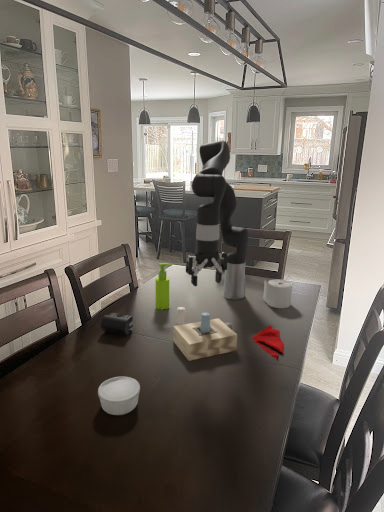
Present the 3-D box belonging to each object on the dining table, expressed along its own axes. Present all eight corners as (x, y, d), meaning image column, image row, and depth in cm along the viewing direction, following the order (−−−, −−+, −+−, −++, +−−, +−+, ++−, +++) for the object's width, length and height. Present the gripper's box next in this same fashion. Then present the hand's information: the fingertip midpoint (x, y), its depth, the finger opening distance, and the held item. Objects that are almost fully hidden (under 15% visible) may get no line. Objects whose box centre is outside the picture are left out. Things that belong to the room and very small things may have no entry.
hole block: (217, 332, 144) (218, 317, 143) (236, 350, 132) (237, 334, 130) (173, 341, 137) (173, 325, 135) (188, 360, 125) (189, 343, 123)
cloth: (256, 324, 153) (257, 319, 153) (291, 329, 149) (292, 324, 149) (245, 356, 129) (245, 350, 129) (286, 364, 125) (287, 358, 125)
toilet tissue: (291, 309, 166) (293, 288, 164) (263, 307, 168) (265, 286, 165) (289, 300, 177) (291, 280, 174) (263, 298, 178) (264, 278, 176)
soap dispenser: (171, 310, 163) (171, 265, 158) (155, 309, 163) (154, 265, 158) (172, 304, 169) (172, 261, 164) (156, 304, 169) (156, 261, 164)
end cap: (101, 334, 141) (100, 318, 139) (110, 326, 148) (110, 310, 146) (125, 339, 138) (124, 322, 136) (134, 331, 145) (133, 314, 143)
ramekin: (122, 387, 111) (121, 371, 109) (149, 403, 104) (148, 386, 103) (90, 406, 103) (89, 389, 101) (117, 425, 96) (116, 407, 94)
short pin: (229, 333, 144) (229, 321, 142) (233, 337, 141) (234, 325, 139) (221, 335, 142) (222, 323, 141) (225, 339, 140) (226, 326, 138)
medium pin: (183, 324, 151) (183, 306, 149) (186, 327, 148) (186, 309, 146) (175, 325, 149) (175, 307, 147) (178, 328, 147) (178, 311, 145)
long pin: (206, 342, 137) (207, 312, 133) (210, 346, 134) (211, 315, 131) (198, 344, 135) (199, 313, 132) (202, 348, 133) (203, 317, 129)
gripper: (221, 233, 130) (219, 278, 134) (183, 236, 124) (182, 283, 129) (232, 237, 123) (230, 285, 128) (192, 241, 118) (191, 290, 122)
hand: (206, 284), depth 128 cm, fingers open, 8 cm apart
